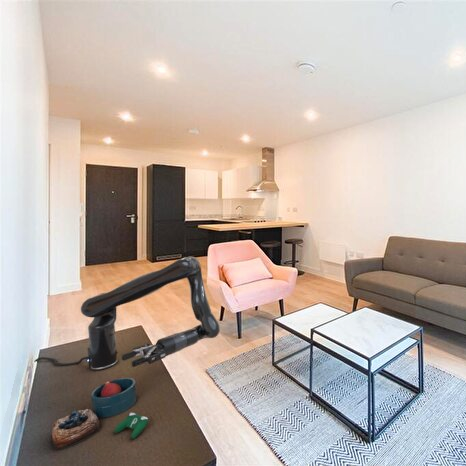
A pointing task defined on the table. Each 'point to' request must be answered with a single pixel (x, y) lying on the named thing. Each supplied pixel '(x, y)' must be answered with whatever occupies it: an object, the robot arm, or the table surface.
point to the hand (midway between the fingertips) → (127, 361)
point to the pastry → (74, 428)
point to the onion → (110, 389)
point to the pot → (114, 398)
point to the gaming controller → (133, 424)
